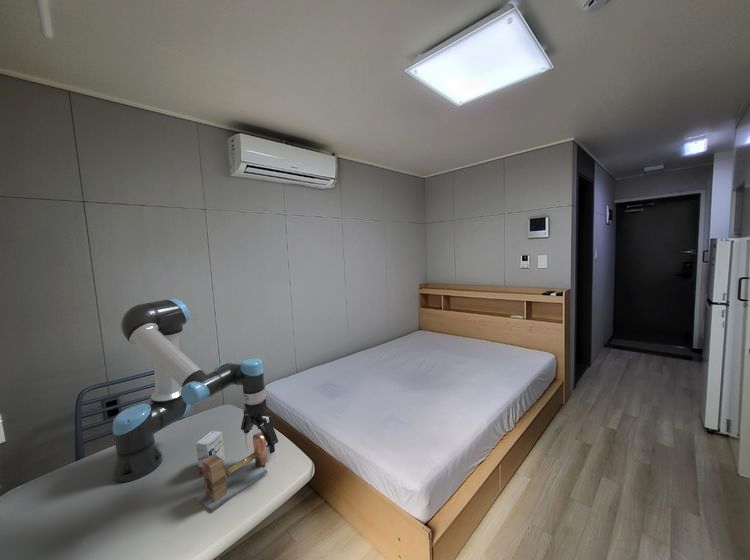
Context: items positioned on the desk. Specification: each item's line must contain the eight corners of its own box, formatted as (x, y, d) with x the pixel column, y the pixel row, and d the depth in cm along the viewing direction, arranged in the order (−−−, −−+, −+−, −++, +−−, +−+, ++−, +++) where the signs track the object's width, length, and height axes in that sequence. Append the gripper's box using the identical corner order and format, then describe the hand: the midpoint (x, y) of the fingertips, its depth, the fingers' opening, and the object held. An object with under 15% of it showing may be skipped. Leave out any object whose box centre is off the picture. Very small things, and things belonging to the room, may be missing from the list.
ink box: (209, 474, 111) (206, 444, 110) (198, 473, 112) (194, 443, 111) (225, 458, 120) (222, 431, 119) (215, 457, 121) (211, 430, 120)
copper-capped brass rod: (224, 482, 105) (221, 454, 104) (263, 456, 117) (260, 431, 117) (231, 487, 102) (228, 458, 101) (270, 460, 115) (267, 434, 114)
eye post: (197, 498, 100) (192, 462, 99) (251, 462, 116) (248, 431, 115) (212, 512, 94) (207, 473, 93) (267, 472, 111) (263, 439, 110)
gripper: (227, 397, 116) (233, 448, 118) (266, 414, 102) (272, 472, 104) (245, 389, 122) (250, 438, 124) (284, 404, 108) (289, 459, 110)
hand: (260, 454), depth 114 cm, fingers open, 13 cm apart
